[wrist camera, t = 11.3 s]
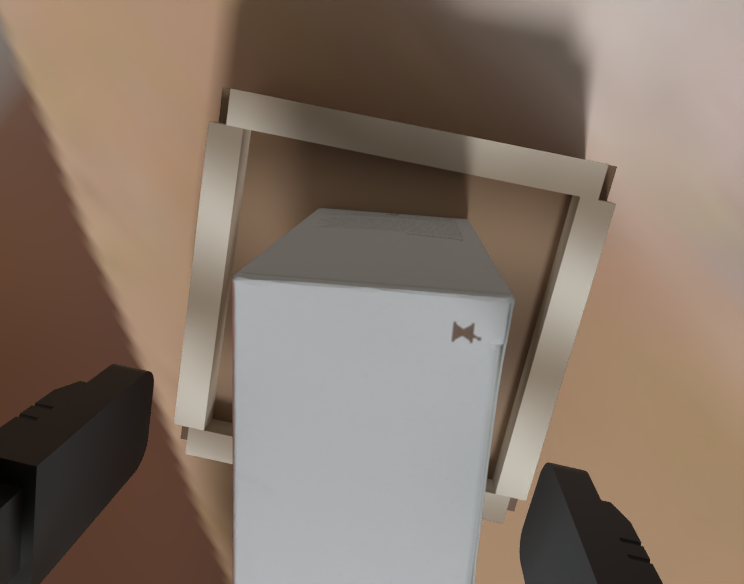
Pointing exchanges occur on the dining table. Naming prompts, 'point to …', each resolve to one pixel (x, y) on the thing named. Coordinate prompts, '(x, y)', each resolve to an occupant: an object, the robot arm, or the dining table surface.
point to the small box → (365, 400)
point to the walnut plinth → (399, 196)
